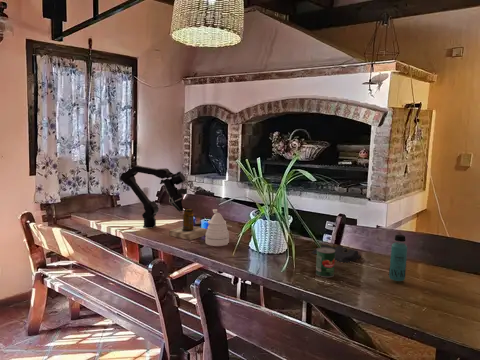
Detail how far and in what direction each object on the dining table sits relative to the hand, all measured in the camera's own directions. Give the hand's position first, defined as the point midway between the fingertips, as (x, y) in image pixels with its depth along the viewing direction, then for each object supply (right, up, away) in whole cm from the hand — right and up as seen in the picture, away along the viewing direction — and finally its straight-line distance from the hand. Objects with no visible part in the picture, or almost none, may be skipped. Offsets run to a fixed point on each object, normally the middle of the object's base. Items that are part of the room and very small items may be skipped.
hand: (181, 211), depth 255 cm
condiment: (+6, -10, -13) cm, 17 cm away
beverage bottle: (+102, -24, -80) cm, 132 cm away
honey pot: (+23, -15, -27) cm, 39 cm away
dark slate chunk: (+84, -19, -46) cm, 98 cm away
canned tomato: (+73, -22, -73) cm, 106 cm away
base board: (+6, -13, -12) cm, 19 cm away
